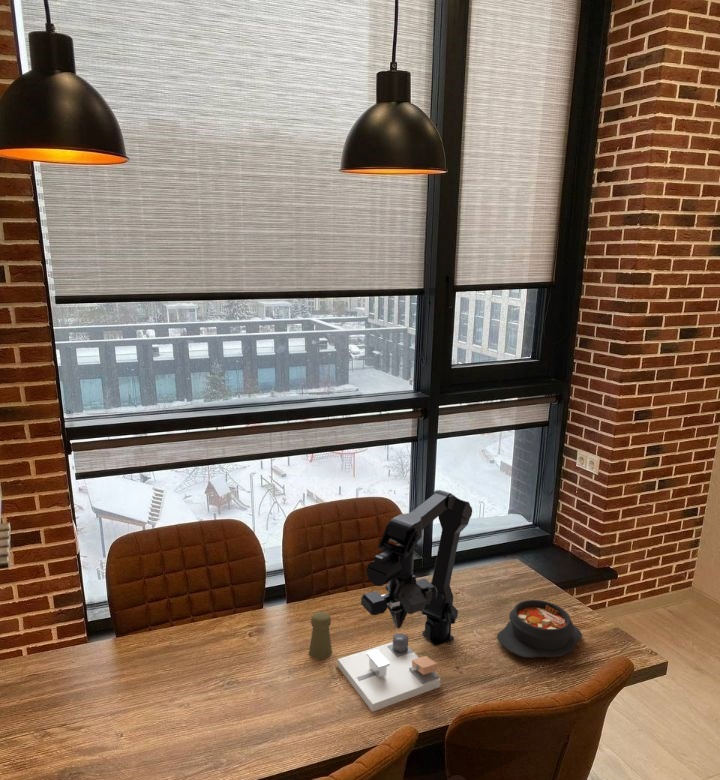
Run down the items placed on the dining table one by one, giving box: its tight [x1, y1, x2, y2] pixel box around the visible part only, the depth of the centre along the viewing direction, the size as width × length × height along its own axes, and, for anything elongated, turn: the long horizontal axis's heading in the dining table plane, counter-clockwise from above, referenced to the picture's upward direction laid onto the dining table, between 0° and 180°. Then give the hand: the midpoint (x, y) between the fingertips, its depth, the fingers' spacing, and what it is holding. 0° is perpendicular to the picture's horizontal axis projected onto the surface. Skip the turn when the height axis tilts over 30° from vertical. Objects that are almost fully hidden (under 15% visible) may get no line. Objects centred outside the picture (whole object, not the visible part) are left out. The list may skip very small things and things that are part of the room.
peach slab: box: [412, 655, 438, 675], centre depth 151 cm, size 4×5×2 cm
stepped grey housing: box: [367, 650, 390, 678], centre depth 151 cm, size 3×6×4 cm, turn 28°
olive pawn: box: [308, 611, 333, 661], centre depth 161 cm, size 6×6×11 cm
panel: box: [337, 641, 442, 713], centre depth 153 cm, size 19×18×3 cm
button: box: [392, 632, 409, 653], centre depth 161 cm, size 4×4×3 cm
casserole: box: [496, 599, 583, 659], centre depth 169 cm, size 25×19×8 cm
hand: (398, 627), depth 152 cm, fingers closed
